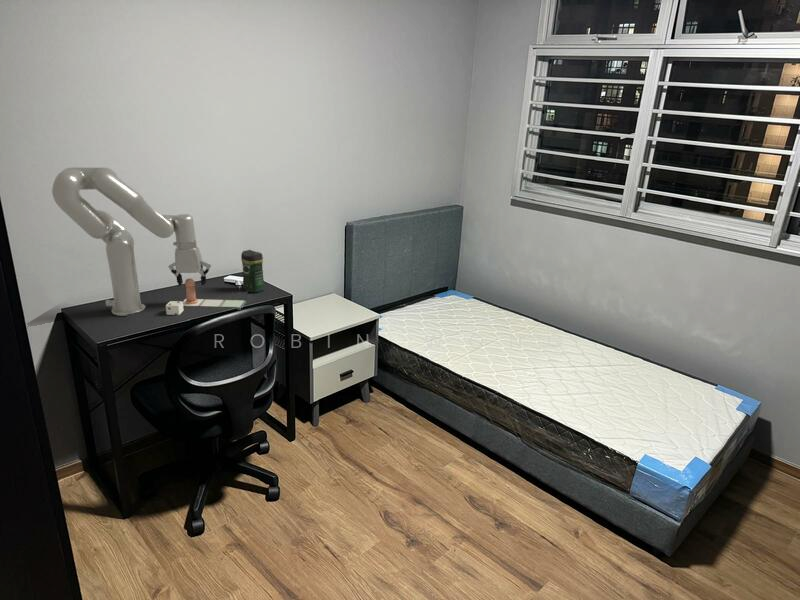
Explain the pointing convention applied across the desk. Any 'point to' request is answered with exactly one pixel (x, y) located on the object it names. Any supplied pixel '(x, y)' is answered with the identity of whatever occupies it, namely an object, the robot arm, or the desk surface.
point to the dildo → (190, 291)
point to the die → (174, 308)
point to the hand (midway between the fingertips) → (192, 284)
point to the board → (218, 303)
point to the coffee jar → (252, 271)
